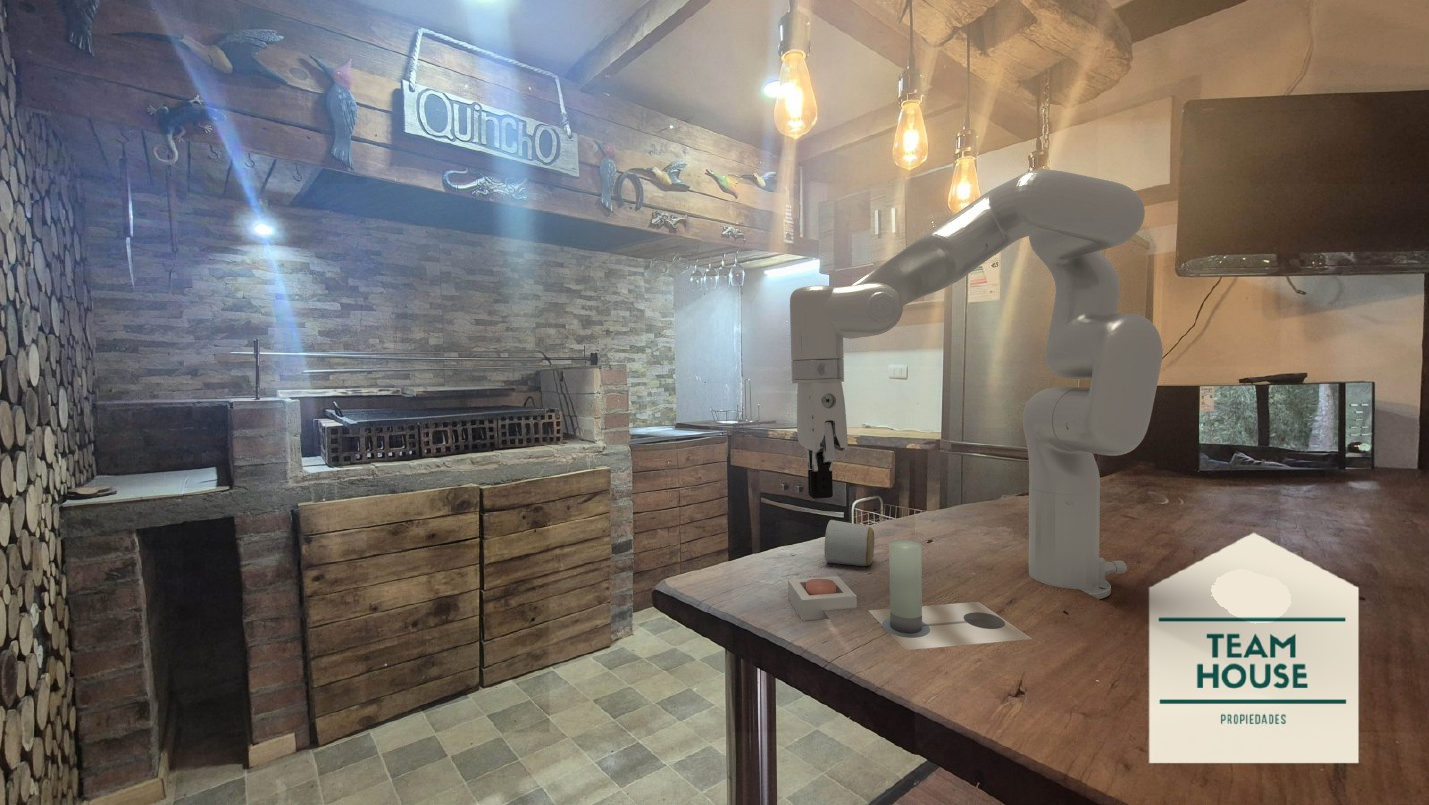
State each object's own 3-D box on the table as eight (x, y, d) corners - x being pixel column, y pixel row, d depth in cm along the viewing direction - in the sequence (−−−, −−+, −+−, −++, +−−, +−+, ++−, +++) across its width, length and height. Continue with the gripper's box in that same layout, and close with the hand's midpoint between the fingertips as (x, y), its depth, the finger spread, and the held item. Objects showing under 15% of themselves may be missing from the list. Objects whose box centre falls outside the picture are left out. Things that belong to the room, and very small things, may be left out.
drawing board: (980, 608, 83) (980, 599, 83) (1041, 651, 70) (1041, 640, 70) (861, 617, 81) (861, 608, 81) (902, 664, 68) (902, 653, 68)
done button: (830, 590, 87) (830, 577, 87) (840, 601, 83) (840, 588, 83) (802, 592, 86) (802, 579, 86) (811, 604, 82) (810, 590, 82)
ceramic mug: (871, 572, 98) (870, 528, 98) (823, 567, 101) (823, 525, 101) (877, 555, 108) (876, 515, 108) (833, 551, 111) (833, 512, 111)
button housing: (838, 594, 89) (837, 576, 89) (856, 616, 81) (856, 595, 81) (788, 598, 88) (788, 579, 88) (802, 620, 80) (802, 600, 80)
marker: (913, 619, 77) (912, 539, 76) (927, 632, 73) (927, 548, 72) (885, 621, 76) (884, 540, 76) (898, 634, 72) (897, 550, 72)
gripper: (861, 371, 76) (864, 507, 77) (826, 371, 91) (828, 485, 92) (806, 373, 75) (810, 510, 76) (780, 373, 90) (783, 488, 91)
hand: (820, 496), depth 84 cm, fingers closed
